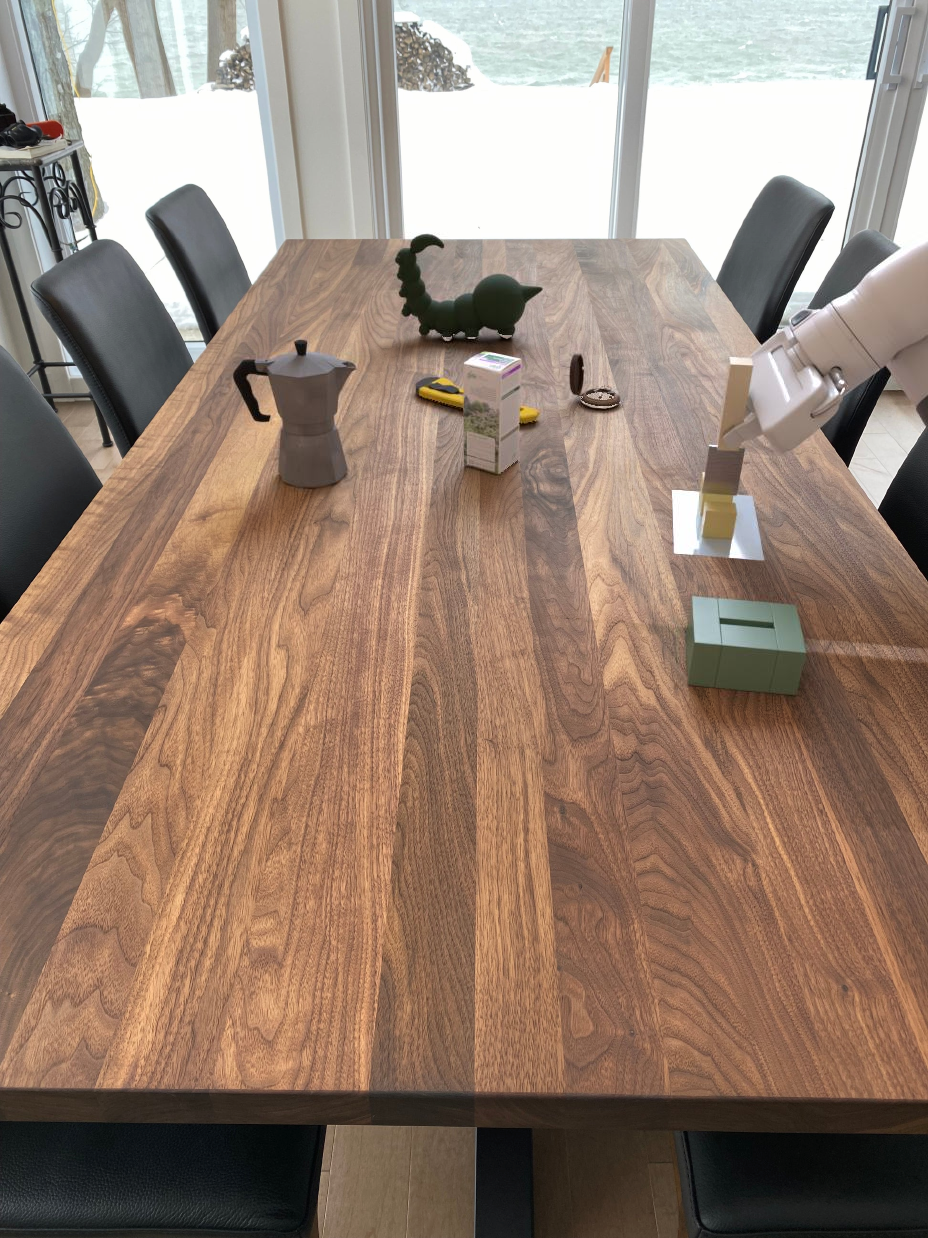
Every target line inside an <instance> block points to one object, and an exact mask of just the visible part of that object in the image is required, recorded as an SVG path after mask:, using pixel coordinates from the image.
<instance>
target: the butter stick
mask: <svg viewBox="0 0 928 1238" xmlns="http://www.w3.org/2000/svg"><path fill="white" fill-rule="evenodd" d="M704 476H705V471H701V479H700V487H699V491H698V492H699V507H700V516H703V511H704V505H705V501H715V502H729V503H732V502H733V496H734V495H720V494H706V493H702V489H703V483H704Z"/></svg>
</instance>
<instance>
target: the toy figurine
mask: <svg viewBox="0 0 928 1238" xmlns="http://www.w3.org/2000/svg"><path fill="white" fill-rule="evenodd" d="M432 246H434V247H435V246H436V247H438V248H440V249H444V248H445V244H444V242H443V240H442V239H440V238H439V237H438V236H436V235H434V234H431V233H424V234H419V235H417V236H415V237H413V238H412V239H411V241H410V244H409V247H403V248H401V249H400V250H399V251H398V252H397V254H396V257H395V258H394V262H395V263H396V264H397V265H398V270H397V272H396V278H397V279H398V281H401V285H400V289H399V290H398V296H399V297H400V298H401V299H403V298H405V302H404V303H403V305H402V308H401V310H400V311H401V315H402V317H405V318H407V317H410V316H411V315H412V316H413V317H415V318H417V320H418V321H417V322H418V323H419V324H420V325H419V326H418V333H419V334H420V336H423V335H424V337H425V335H426V336H428V335H429V334H430V332H431V331H435V332H436V333H437V334H439V333H440V334H439V335H440V336H441V337H442V336H443V337H451V336H453V334H457V333H458V334H460V333H463V334H464V337H465V338H466V337H477V336H478V337H479V335H480V331H481V330H482V329H484V328H487V329H488V330H492V331H497V334H498V333H499V334H502V335H513V334H514V333H515V334H516V324H517V323H518V322H519V321H520V320H521V318H522V317H523V314H524V312H525V309H526V305H527V303H528V302H529V301H530V300H531V299H533V298H534V297H535V296H537V295H538V294H541V292H542V291H543V290H544V289H543V287H542V286H537V285H522V284H520V282H519V281H518V280H517V279H516V278H514V277H512V276H510V275H508V274H504V273H493V274H490V275H487V276H486V277H484V278H483V279H481V280H480V281H479V282H478V283H477V284H476V286H475V288H474V290H473V291H472V292H466V293H463V294H461V295H459V296H457V297H456V298H455V300H451V299H447V300H442V301H438V300H436V299H432V296H431V295H430V293H428V291H426V289H427V288H426V283H425V281H424V280H423V279H422V278H421V276H422V270H421V268H420V267H421V266H419V264H418V263H417V260H418V259H417V254H420V253H421V252H423V251H425V249H427V248H428V247H432ZM459 332H460V333H459ZM441 334H442V335H441ZM458 334H457V335H458ZM499 334H498V335H499ZM515 334H514V335H515ZM453 337H454V336H453Z"/></svg>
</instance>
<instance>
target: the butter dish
mask: <svg viewBox="0 0 928 1238" xmlns="http://www.w3.org/2000/svg"><path fill="white" fill-rule="evenodd" d="M699 492H700V491H692V490H691V491H690V490H678V489H671V500H672V501H671V503H672V528H673V529H672V530H673V531H672V533H673V554H674V555H688V556H698V557H710V558H711V557H713V558H723V559H736V560H737V559H739V560H748V561H761V562H765V556H764V551H763V545H762V539H761V533H760V527H759V522H758V517H757V512H756V507H755V501H754V496H753V495H748V494H747V495H746V494H737V496H733V502H732V503H736V509H737V517H736V522H735V528H734V534H733V539H722V538H709V537H702V532H701V524H702V518H703V516H700V507H699Z"/></svg>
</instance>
